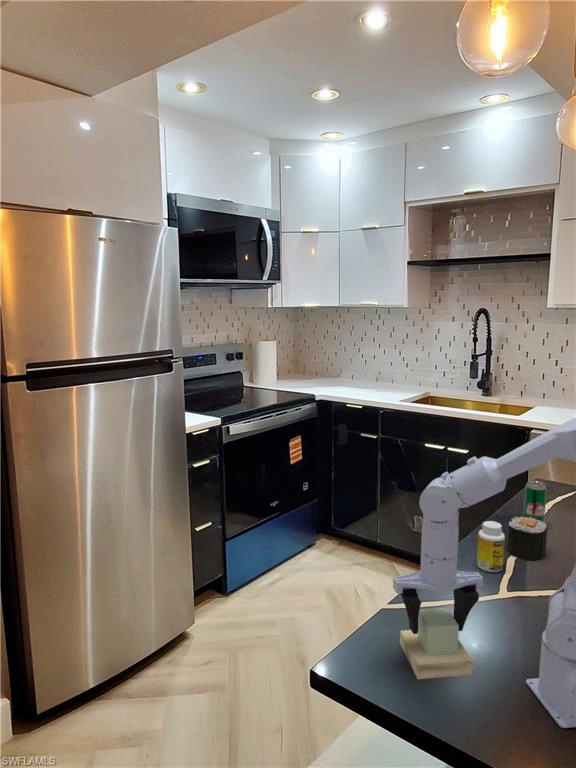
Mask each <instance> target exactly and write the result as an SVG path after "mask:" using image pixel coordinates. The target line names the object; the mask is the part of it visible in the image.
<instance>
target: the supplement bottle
mask: <svg viewBox="0 0 576 768" xmlns="http://www.w3.org/2000/svg"><path fill="white" fill-rule="evenodd" d="M502 527H503V526H502V524H501V523H500V522H497V521H493V520H487V521H483V522H482V529H480V530H479V531H478V537H477V551H476V552H477V553H476V566H477V567H478V568H480V569H481V570H482V571H484V572H488V573H497V572H500V571H502V570H503V567H504V558H505V557H504V553H505V541H506V539H505V538H506V536H505V533H503V529H502Z"/></svg>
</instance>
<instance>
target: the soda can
mask: <svg viewBox="0 0 576 768" xmlns="http://www.w3.org/2000/svg"><path fill="white" fill-rule="evenodd" d="M524 487H525V488H524V489H525V490H524V501H523V504H524V505H523V516H522V517H523V518H525V517H526V518H527V517H528V518H530V517H532V519H533V518H535V520H538V521H539V520H540V521H542V523H543V522H544V523H545V516H546V513H545V512H546V501H547V486H546V484H545V483H544V482H542V481H540V480H539V481H538V480H528V481H527V483H526V484H525V486H524Z"/></svg>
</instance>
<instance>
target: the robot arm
mask: <svg viewBox="0 0 576 768" xmlns="http://www.w3.org/2000/svg"><path fill="white" fill-rule="evenodd" d="M555 459H561V460H562V459H563V460H566V461H571V462H576V417H575V418H572V419H569V420H568V421H566V422H564V423H562V424H559V425H557V426H555V427H553V428H551V429H549V430H548V431H546V432H544V433H542V434H540V435H539V436H537V437H535V438H533V439H531V440H529V441H528V442H526V443H524V444H523V445H520V446H519V447H517V448H515V449H513V450H512V451H509V452H508V453H506V454H504V455H501V457H498V458H494V457H489V456H481V457H479V458H477V457H476V456H473V457H471V458H469V459H467V461H466V463H467V464H466V465H464V466H462V467H460V468H458V469H456V470H454V471H452V472H450V473H449V472H448V471H445V472H443V473H442V474H441V475H440V476H439V477H437V478H435V479H433V480H432V481H430V483H429V484H428V485H427V486H426V487H425V489H424V490H423V491H422V493H421V495H420V497H419V501H418V503H419V509H420V510H421V512H422V523H421V543H420V544H421V545H420V546H421V547H420V548H421V549H420V551H421V552H420V569H419V570H418V571H415V572H411V573H408V574H403V575H399V576H393V577H392V579H393V580H392V588H393V590H394V592H395V594H399V595H400V596H401V599H402V601H403V604H404V606H405V607H404V608H405V610H406V615H407V619H408V627H409V630H411V631H412V633H413V634H418V616H419V610H420V609H421V606H422V601H421V599H420V598H419V593H417V591H427V590H428V591H433V592H434V591H435V592H450V591H453V600H454V601H453V615H452V616H453V617H454V619H455V621H456V622H457V624H458V625H459V631H458V632H462V631H463V630H464V626H465V623H466V620H467V618H468V616H469V614H470V612H471V610H472V609H473V608H474V606H475V605H476V603H477V602H478V601H479V599H480V594H479V591H477V590H482V589H483V588H484V587H483V586H484V578H483V576H482V575H481V574H480V573H479V572H478V571H472V572H471V571H463V570H462V571H461V570H458V554H459V553H458V552H459V550H458V549H459V534H460V533H459V530H460V528H459V516H460V514H459V513H460V511H459V509H462V508H469V507H471V506H473V505H475V504H478V503H480V502H481V501H484V500H487V499H488V498H490V497H491V498H492V497H493V496H495V495H498V494H499V493H501V492H503V491H504V490H505V489H506V486H507V485H506V484H507V481H508V479H510V478H512V477H515V476H517V475H519V474H522V473H525V472H527V471H529V470H531V469H534V468H537V467H539V466H542V465H543V464H546V463H549V462H551V461H553V460H555ZM547 616H548V617H547V625H546V626H545V630H544V631H543V632H542V636H541V648H540V660H539V669H538V670H539V672H538V673H539V674H538V677H537V678H527V679H526V681H525V683H526V684H527V686H528V688H530V690H531V691H532V692H533V694H534V695H535V696H536V698H537V699H538V700H539V701H540V702H541V704H542V705H543V707H544V708H545V709H546V710H547V711H548V713H549V714H550V716H551V717H552V718H553V720H554V721H555V722H556V724H557V725H558V726H559V727H560V728H562V729H567V728H576V563H575V565H574V567H573V569H572V571H571V573H570V575H569V576H568V577H567V578H565V581H564V583H563V585H562V586H561V587H560V588H558V589H557V590H556V591H554V592H553V593H552V594H551V596H550V597H549V599H548V615H547Z"/></svg>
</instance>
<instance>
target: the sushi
mask: <svg viewBox="0 0 576 768" xmlns="http://www.w3.org/2000/svg"><path fill="white" fill-rule="evenodd" d="M547 540H548V527H547V524H546V523H545V521H544V522H543V523H542V521H540V520H539V521H538V520H535V518H533V519H532V517H530V518H528V517H527V518H526V517H525V518H523V516H519V517H518V516H515V517H513V518H511V521H509V523H508V538H507V541H508V542H507V553H508V552H509V553H508V554H509V555H510V556H512V557H514V558H517V559H520V560H523V561H524V560H525V561H529V562H530V561H531V562H536V561H537V562H538V561H540V560H542V559H544V558H545V556H546V549H547Z"/></svg>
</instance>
